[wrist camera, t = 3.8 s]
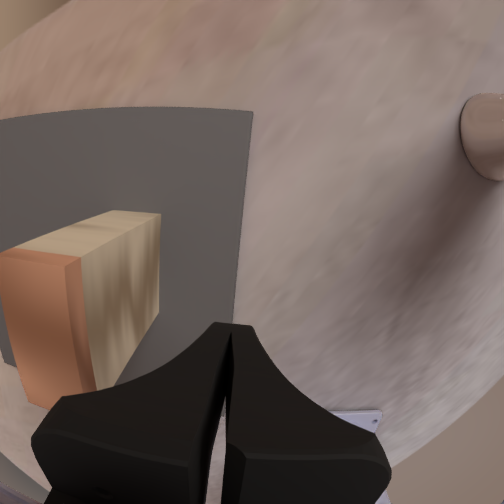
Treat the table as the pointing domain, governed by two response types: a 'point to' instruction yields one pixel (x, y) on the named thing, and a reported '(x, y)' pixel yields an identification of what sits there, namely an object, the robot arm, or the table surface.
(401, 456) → the table surface
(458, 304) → the table surface
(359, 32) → the table surface
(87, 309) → the birch block
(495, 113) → the beer glass
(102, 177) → the rubber mat
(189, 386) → the robot arm
